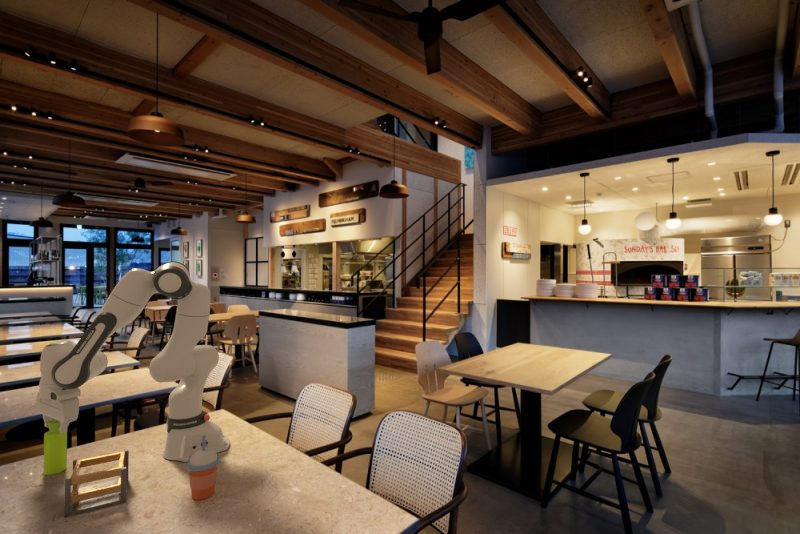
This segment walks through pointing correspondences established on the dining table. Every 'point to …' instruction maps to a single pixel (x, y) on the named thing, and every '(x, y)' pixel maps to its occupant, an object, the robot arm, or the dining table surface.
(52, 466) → the soap dispenser
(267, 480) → the dining table surface
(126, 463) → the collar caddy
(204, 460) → the cup with straw
